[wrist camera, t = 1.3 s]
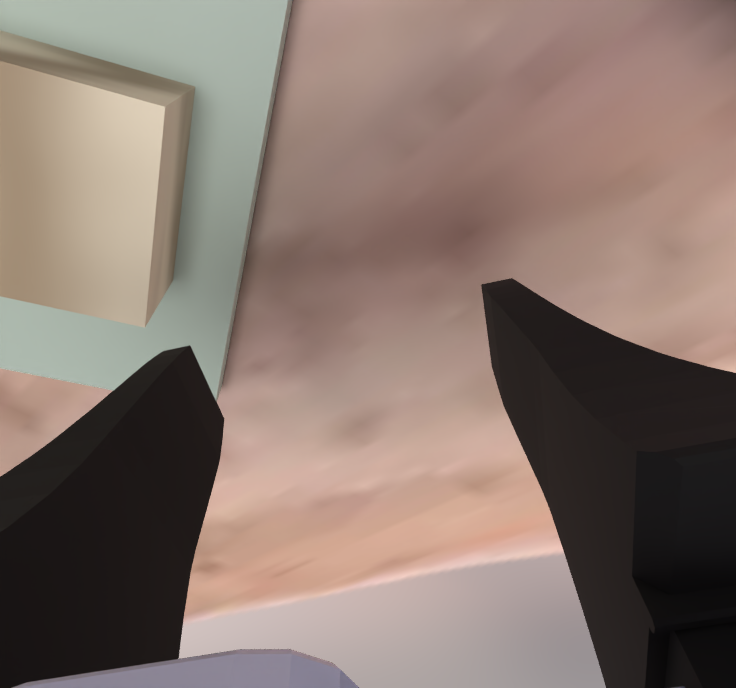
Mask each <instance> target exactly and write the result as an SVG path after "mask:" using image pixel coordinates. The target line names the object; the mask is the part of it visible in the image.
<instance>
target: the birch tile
mask: <svg viewBox="0 0 736 688" xmlns="http://www.w3.org/2000/svg"><path fill="white" fill-rule="evenodd" d="M194 94H195V86H192V85H188V84H185V83H181V82H178V81H174V80H171V79H167V78H164V77H160V76H157V75H153V74H150V73H147V72H143V71H140V70H136V69H133V68H129V67H126V66H122V65H119V64H115V63H112V62H108V61H105V60H101V59H98V58H94V57H91V56H88V55H84V54H81V53H77V52H74V51H70V50H67V49H63V48H60V47H56V46H53V45H49V44H46V43H42V42H39V41H36V40H32V39H29V38H25V37H22V36H18V35H15V34H11V33H8V32H4V31H1V30H0V296H1V297H5V298H10V299H15V300H19V301H24V302H29V303H33V304H38V305H42V306H47V307H52V308H56V309H61V310H66V311H70V312H75V313H79V314H84V315H89V316H93V317H98V318H103V319H107V320H112V321H116V322H121V323H126V324H130V325H135V326H140V327H144V328H145V327H146V325H147V323H148V322H149V320H150V318H151V317H152V315H153V313H154V312H155V310H156V308H157V307H158V305H159V303H160V302H161V300H162V298H163V296H164V295H165V293H166V291H167V290H168V288H169V286H170V285H171V283H172V281H173V276H174V267H175V259H176V250H177V241H178V233H179V224H180V215H181V207H182V198H183V189H184V181H185V172H186V163H187V155H188V146H189V137H190V129H191V120H192V111H193V103H194Z"/></svg>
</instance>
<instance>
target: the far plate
mask: <svg viewBox="0 0 736 688" xmlns="http://www.w3.org/2000/svg"><path fill="white" fill-rule="evenodd" d="M292 1H293V0H0V30H1V31H4V32H8V33H11V34H15V35H18V36H22V37H25V38H29V39H32V40H36V41H39V42H42V43H46V44H49V45H53V46H56V47H60V48H63V49H67V50H70V51H74V52H77V53H81V54H84V55H88V56H91V57H94V58H98V59H101V60H105V61H108V62H112V63H115V64H119V65H122V66H126V67H129V68H133V69H136V70H140V71H143V72H147V73H150V74H153V75H157V76H160V77H164V78H167V79H171V80H174V81H178V82H181V83H185V84H188V85H192V86H195V94H194V103H193V111H192V120H191V129H190V137H189V146H188V155H187V163H186V172H185V181H184V189H183V198H182V207H181V215H180V224H179V233H178V241H177V250H176V259H175V267H174V276H173V281H172V283H171V285H170V286H169V288H168V290H167V291H166V293H165V295H164V296H163V298H162V300H161V302H160V303H159V305H158V307H157V308H156V310H155V312H154V313H153V315H152V317H151V318H150V320H149V322H148V323H147V325H146V327H145V328H144V327H140V326H135V325H130V324H126V323H121V322H116V321H112V320H107V319H103V318H98V317H93V316H89V315H84V314H79V313H75V312H70V311H66V310H61V309H56V308H52V307H47V306H42V305H38V304H33V303H29V302H24V301H19V300H15V299H10V298H5V297H1V296H0V368H2V369H7V370H12V371H17V372H22V373H27V374H32V375H37V376H42V377H47V378H52V379H57V380H63V381H68V382H73V383H78V384H83V385H88V386H93V387H98V388H103V389H108V390H113V391H114V390H115V389H116V388H117V387H118V386H119V385H121V384H122V383H123V382H124V381H125V380H126V379H128V378H129V377H130V376H131V375H132V374H133V373H135V372H136V371H137V370H138V369H139V368H141V367H142V366H143V365H144V364H146V363H147V362H148V361H149V360H151V359H152V358H153V357H155V356H156V355H158V354H159V353H161V352H162V351H165V350H170V349H175V348H180V347H185V346H189V345H190V346H191V348H192V350H193V352H194V355H195V357H196V359H197V361H198V363H199V365H200V368H201V370H202V372H203V374H204V376H205V378H206V381H207V383H208V385H209V387H210V389H211V391H212V394H213V396H214V398H215V400H216V402H217V400H218V396H219V393H220V390H221V387H222V382H223V376H224V371H225V366H226V360H227V355H228V349H229V344H230V338H231V333H232V328H233V322H234V317H235V311H236V306H237V300H238V295H239V289H240V284H241V279H242V273H243V268H244V262H245V257H246V251H247V246H248V241H249V235H250V230H251V224H252V219H253V213H254V208H255V202H256V197H257V192H258V186H259V181H260V175H261V170H262V164H263V159H264V154H265V148H266V143H267V137H268V132H269V126H270V121H271V115H272V110H273V105H274V99H275V94H276V88H277V83H278V77H279V72H280V67H281V61H282V56H283V50H284V45H285V39H286V34H287V28H288V23H289V18H290V12H291V7H292Z"/></svg>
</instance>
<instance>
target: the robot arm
mask: <svg viewBox="0 0 736 688" xmlns="http://www.w3.org/2000/svg"><path fill="white" fill-rule="evenodd" d="M481 286H482V293H483V301H484V309H485V317H486V324H487V332H488V340H489V347H490V355H491V363H492V368H493V372H494V375H495V379H496V382H497V385H498V389H499V392H500V395H501V398H502V402H503V405H504V407H505V410H506V412H507V414H508V416H509V419H510V421H511V423H512V425H513V427H514V430H515V432H516V434H517V436H518V438H519V441H520V443H521V445H522V447H523V449H524V452H525V454H526V456H527V458H528V460H529V462H530V465H531V467H532V469H533V471H534V473H535V476H536V478H537V480H538V482H539V484H540V486H541V489H542V491H543V493H544V496H545V498H546V501H547V503H548V506H549V508H550V511H551V514H552V517H553V520H554V523H555V526H556V529H557V532H558V535H559V538H560V541H561V544H562V547H563V550H564V553H565V556H566V559H567V562H568V566H569V569H570V572H571V575H572V578H573V581H574V584H575V587H576V591H577V594H578V597H579V600H580V603H581V606H582V609H583V612H584V616H585V619H586V622H587V626H588V629H589V632H590V635H591V639H592V642H593V645H594V648H595V651H596V655H597V658H598V661H599V665H600V668H601V672H602V674H603V678H604V682H605V685H606V688H736V373H733V372H729V371H724V370H720V369H715V368H711V367H707V366H704V365H700V364H696V363H693V362H689V361H685V360H682V359H678V358H674V357H671V356H668V355H665V354H662V353H659V352H656V351H653V350H650V349H647V348H645V347H642V346H639V345H637V344H634V343H631V342H629V341H626V340H623V339H621V338H619V337H616V336H614V335H612V334H609V333H607V332H605V331H603V330H601V329H599V328H597V327H595V326H593V325H591V324H589V323H586V322H584V321H583V320H581V319H579V318H577V317H575V316H573V315H571V314H569V313H568V312H566V311H564V310H562V309H561V308H559V307H557V306H555V305H554V304H552V303H550V302H549V301H547V300H546V299H544V298H542V297H541V296H539V295H538V294H536V293H534V292H533V291H531V290H530V289H528V288H527V287H525V286H523V285H522V284H520V283H519V282H517V281H516V280H514V279H512V278H511V279H506V280H501V281H496V282H492V283H487V284H482V285H481ZM223 427H224V417H223V415H222V413H221V411H220V409H219V407H218V404H217V402H216V400H215V398H214V396H213V394H212V391H211V389H210V387H209V385H208V383H207V381H206V378H205V376H204V374H203V372H202V370H201V368H200V365H199V363H198V361H197V359H196V357H195V355H194V352H193V350H192V348H191V346H190V345H189V346H185V347H180V348H175V349H170V350H165V351H162V352H161V353H159V354H158V355H156V356H155V357H153V358H152V359H151V360H149V361H148V362H147V363H146V364H144V365H143V366H142V367H141V368H139V369H138V370H137V371H136V372H135V373H133V374H132V375H131V376H130V377H129V378H128V379H126V380H125V381H124V382H123V383H122V384H121V385H119V386H118V387H117V388H116V389H115V390H114V391H112V392H111V393H110V394H109V395H108V396H107V397H105V398H104V399H103V400H102V401H101V402H100V403H98V404H97V405H96V406H95V407H94V408H93V409H91V410H90V411H89V412H88V413H86V414H85V415H84V416H83V417H81V418H80V419H79V420H78V421H76V422H75V423H74V424H73V425H71V426H70V427H69V428H68V429H66V430H65V431H64V432H63V433H61V434H60V435H59V436H58V437H56V438H55V439H54V440H52V441H51V442H50V443H48V444H47V445H46V446H44V447H43V448H42V449H40V450H39V451H38V452H36V453H35V454H33V455H32V456H31V457H29V458H28V459H26V460H25V461H23V462H22V463H20V464H19V465H17V466H16V467H14V468H13V469H11V470H10V471H8V472H7V473H5V474H4V475H2V476H1V477H0V688H359V687H358V686H357V685H356V684H355V683H354V682H353V681H352V680H351V679H350V678H349V677H347V676H346V675H345V674H344V673H343V672H342V671H341V670H340V669H339V668H338V667H337V666H336V665H335V664H333V663H332V662H329V661H325V660H322V659H319V658H316V657H312V656H310V655H306V654H303V653H300V652H297V651H294V650H291V649H240V650H233V651H227V652H221V653H214V654H208V655H202V656H195V657H188V658H182V659H178V658H179V650H180V641H181V634H182V626H183V618H184V611H185V605H186V598H187V592H188V585H189V579H190V572H191V568H192V563H193V559H194V554H195V550H196V546H197V543H198V539H199V535H200V532H201V528H202V524H203V521H204V517H205V513H206V510H207V506H208V503H209V499H210V495H211V492H212V488H213V484H214V480H215V476H216V473H217V469H218V465H219V461H220V454H221V446H222V438H223Z"/></svg>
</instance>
